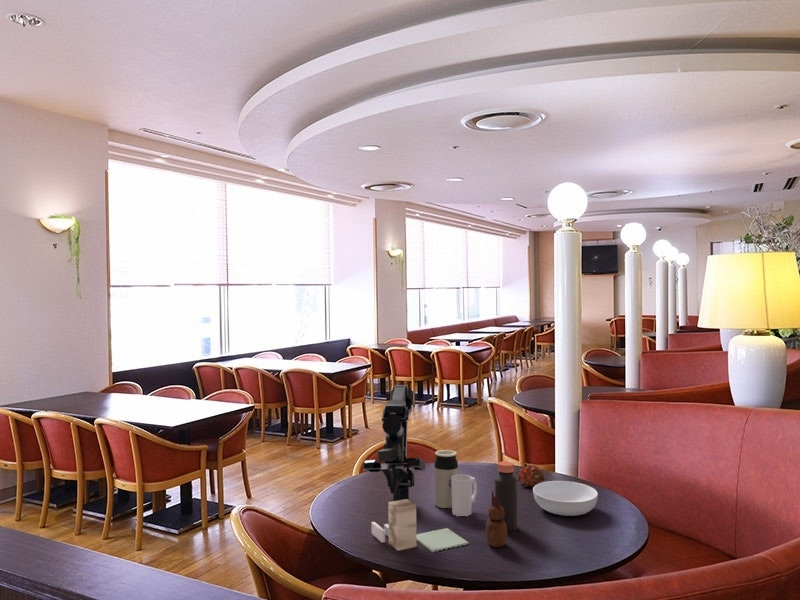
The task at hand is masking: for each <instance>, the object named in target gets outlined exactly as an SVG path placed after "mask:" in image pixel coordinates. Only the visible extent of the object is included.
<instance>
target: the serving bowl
mask: <svg viewBox="0 0 800 600" xmlns="http://www.w3.org/2000/svg"><path fill="white" fill-rule="evenodd" d="M532 493H533V498H534V500H535V502H536V503H537V505H539V507H541V508H542V509H543V510H545V511H546V512H548V513H551V514H554V515H559V516H566V517H567V516H571V517H572V516H573V517H575V516H581V515H585V514H587V513H590V512H591V511H592V510H593V509H594V508H595V507H596V504H597V502H598V498H599V497H598V496H599V493H598V491H597V490H596V489H595V488H594V487H592V486H589V485H588V484H584V483H580V482H577V481H569V480H551V481H543V482H542V483H539V484H537V485H535V486H534V488H533V487H532Z"/></svg>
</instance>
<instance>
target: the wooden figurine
mask: <svg viewBox="0 0 800 600" xmlns="http://www.w3.org/2000/svg"><path fill="white" fill-rule="evenodd" d="M487 513H488V519H487V521H486V524H485V536H486V540H487V544H489V546H491V547H494V548H502V547H503V546H504V545H505V544H506V541H507V538H508V532H507V526H506V523H505V521H504V520H503V518H504V509H503V507H502V506H501V505H500V502H499V501H498V499H497V498H496V494H495V493H494V491H491V505H490V506H489V507H488V511H487Z"/></svg>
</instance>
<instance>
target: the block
mask: <svg viewBox="0 0 800 600" xmlns="http://www.w3.org/2000/svg"><path fill="white" fill-rule="evenodd" d="M409 500H410V499H409ZM409 500H408V499H403V500H398V501H392V502H389V501H388V503H387V505H388V506H387V507H388V524H389V537H388V544H389V545H390V546H392V547H393V548H394V549H395V550H396V551H397V552H398V551H404V550H407V549H412V548H417V542H418V541H417V540H416V534H417V505H416V504H415V503H414V502H413V501H412V500H410V501H409ZM411 501H412V502H413V503H412V502H411Z"/></svg>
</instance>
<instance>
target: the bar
mask: <svg viewBox="0 0 800 600" xmlns="http://www.w3.org/2000/svg"><path fill="white" fill-rule="evenodd" d="M383 529H384V530H385V537H386V536H387V538H389V523H385V524H384V523H383Z"/></svg>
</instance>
